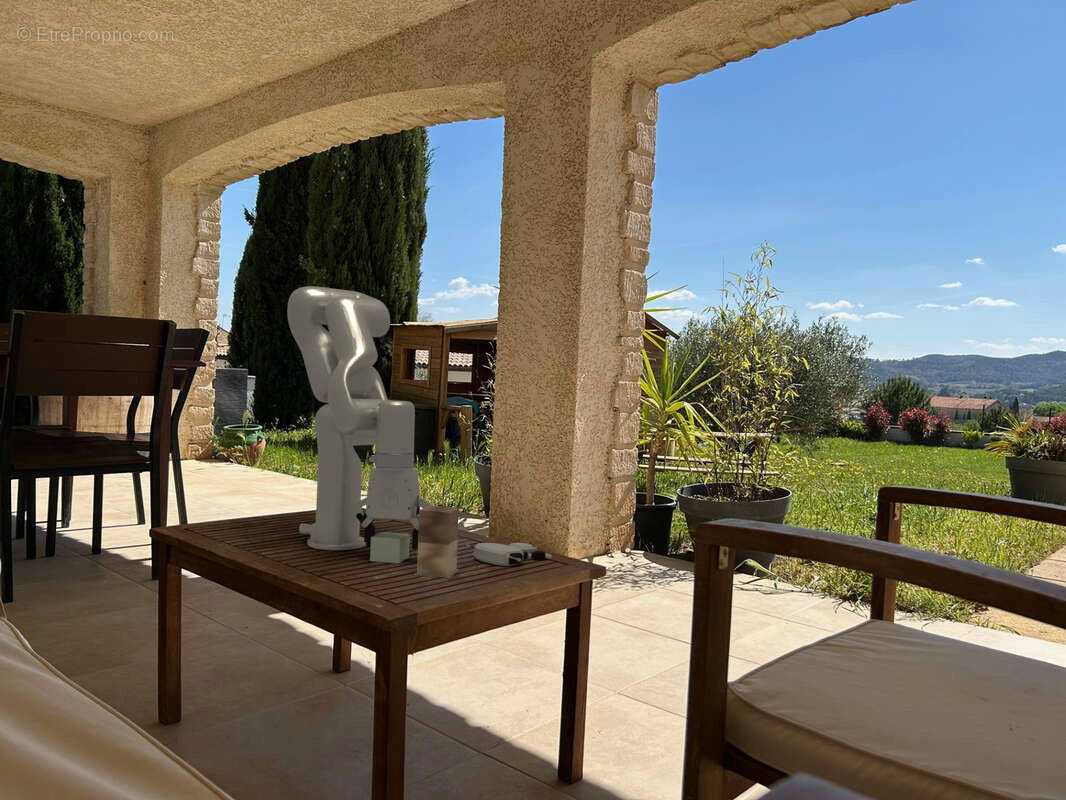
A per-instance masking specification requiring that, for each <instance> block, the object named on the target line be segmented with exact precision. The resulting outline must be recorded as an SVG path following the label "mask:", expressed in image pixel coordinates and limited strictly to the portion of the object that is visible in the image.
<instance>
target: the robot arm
mask: <svg viewBox="0 0 1066 800" xmlns="http://www.w3.org/2000/svg"><path fill="white" fill-rule="evenodd" d="M390 315H391V314H390V313H389V309H388V308H387V306H386V305H385V304H384V302H382V301H381V300H380V299H377V298H374V297H372V296H369V295H367V294H364V293H362V292H360V291H359V292H358V291H354V290H347V289H337V288H330V287H325V286H324V287H323V286H313V285H312V286H310V285H309V286H303V287H301V286H300V287H299V288H297V289H295V290H293V292H291V294H290V296H289V298H288V302H287V322H288V326H289V328H290V332H291V334H292V336H293V338H294V341H295V343H296V344H297V345H298V348H299V350H300V352H301V356H302V359H303V362H304V366H305V369H306V373H307V377H308V380H309V383H310V387H311V391H312V392H313V395H314V397H315V398H316V399H317V400H318V401H319V402H322V403H327V404H324V405H323V406H321V407H319V409H318V410H317V412H316V413H315V418H314V427H315V428H314V429H315V435H316V436H315V437H316V444H317V480H316V482H317V483H316V486H317V487H316V501H315V502H316V504H315V505H316V508H315V509H316V510H315V523H312V524H309V523H300V525H299V528H298V530H299V533H300V534H305V535H306V534H307V535H309V536H310V538H308V539H307V546H308V547H310V548H313V549H316V550H322V551H323V550H325V551H349V550H356V549H361V548H363V547H366V548H371V537H372V536H374V535H376V526H375V525H374V523H375V522H376V520H384V521H386V520H387V521H409V522H410V523H411V525H412V526H413V527H414V529H413V530H412V532H411V535H412V537H411V549H412V550H413V551H418V527H419V510H421V509H423V508H425V507H427V506H434V505H433V504H432V503H429V502H428V501H426V500H425V499H422V498H421V491H420V490H421V489H420V482H419V481H420V480H419V475H418V470H417V469H416V468H414V465H415V462H414V461H415V460H414V458H415V456H414V455H415V419H416V418H415V417H416V415H415V414H416V413H415V412H416V410H415V405H414V404H413V403H412V402H411V401H409V400H408V401H407V400H392V399H388V396H387V393H386V389H385V387H384V383H383V381H382V378H381V376H380V374H379V372H378V370H377V369H376V368H375V367H373V365H374V364H375V363H376V361H377V360H378V351H377V348H376V345H375V341H374V338H380V337H383V336H385V335H386V334H387V333H388V331H389V329H390V325H391V316H390ZM323 325H325V326H326V325H327V328H328V330H327V329H326V328H325V327H324V326H323ZM371 445H373V446H374V445H375V453H374V454H373V455H370V456H369V458H368V461H369V463H373V464H374V467H375V468H371V470H370V474H369V479H368V484H367V485H368V486H367V493H366V497H365V498H362V481H363V480H362V478H363V466H362V461H361V459H360V457H359V455H358V454H357V452H356V450H355V448H354V446H371ZM364 506H365V512H364V510H363V507H364ZM361 526H362V528H363V529H364V530H363V531H364V532H363V536H360V527H361Z"/></svg>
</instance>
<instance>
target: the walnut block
mask: <svg viewBox="0 0 1066 800" xmlns="http://www.w3.org/2000/svg"><path fill="white" fill-rule="evenodd" d="M459 509H460V508H459V507H455V506H454V507H453V506H451V507H450V506H442V505H441V506H439V505H433V506H427V507H425V508H420V510H419V527H418V542H422V543H434V544H446V545H449V544H451V543H452V542H453V541H455V540H456V539H458V532H459V516H460V515H459V512H460V510H459Z"/></svg>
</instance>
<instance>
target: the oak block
mask: <svg viewBox="0 0 1066 800" xmlns="http://www.w3.org/2000/svg"><path fill="white" fill-rule="evenodd" d="M458 543H459V540H458V538H457V539H456V540H455V541H453V542H452V543H451V544H449V545H446V544H434V543H422V542H418V549H417V558H416V559H417V561H416V562H417V563H416V572H417V574H422V575H421V576H423V575H433V576H432V577H434V576H444V577H443V578H445V577H448V576H449V575H451V574H452V573H453V572H454V571H455V570H456V569H458V567H457V565H458V563H457V562H458V545H459V544H458Z"/></svg>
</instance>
